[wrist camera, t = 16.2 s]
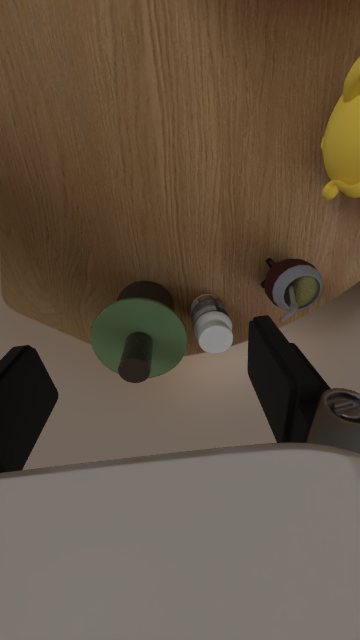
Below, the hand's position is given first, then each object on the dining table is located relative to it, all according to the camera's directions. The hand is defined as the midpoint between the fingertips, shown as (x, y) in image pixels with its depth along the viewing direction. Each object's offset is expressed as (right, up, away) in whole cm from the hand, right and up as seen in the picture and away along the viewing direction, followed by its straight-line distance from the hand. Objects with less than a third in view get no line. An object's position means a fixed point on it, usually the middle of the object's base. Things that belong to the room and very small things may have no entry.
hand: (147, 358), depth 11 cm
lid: (-4, -1, +21) cm, 22 cm away
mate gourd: (+17, +9, +28) cm, 34 cm away
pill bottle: (+6, +4, +30) cm, 31 cm away
